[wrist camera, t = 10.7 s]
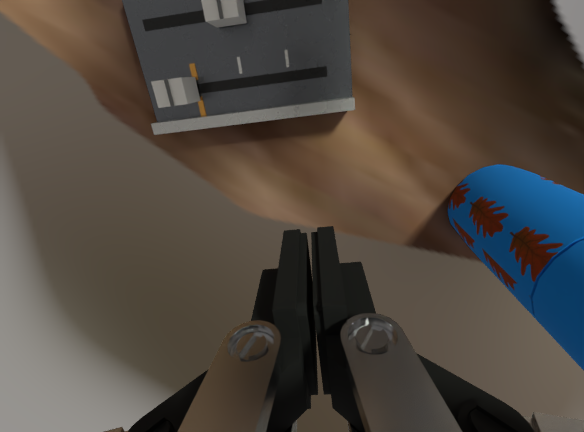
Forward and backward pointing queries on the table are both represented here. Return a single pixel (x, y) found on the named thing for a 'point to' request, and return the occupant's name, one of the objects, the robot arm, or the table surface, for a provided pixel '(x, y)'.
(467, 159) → the table surface
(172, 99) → the fader far
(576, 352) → the thermos
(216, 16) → the fader near
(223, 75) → the console
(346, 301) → the robot arm
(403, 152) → the table surface
